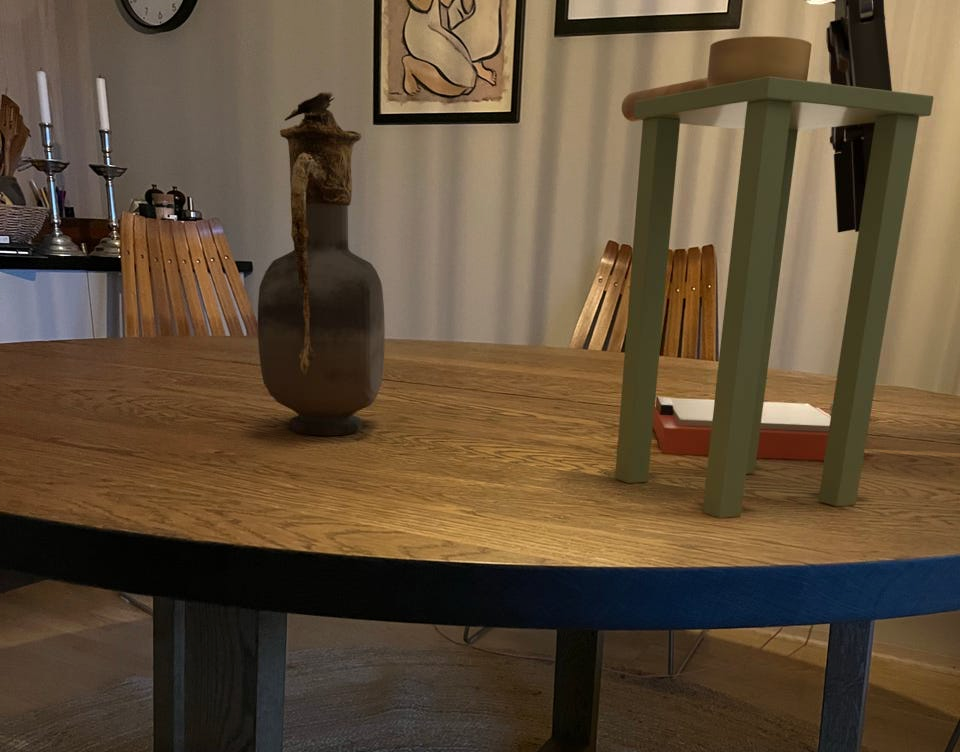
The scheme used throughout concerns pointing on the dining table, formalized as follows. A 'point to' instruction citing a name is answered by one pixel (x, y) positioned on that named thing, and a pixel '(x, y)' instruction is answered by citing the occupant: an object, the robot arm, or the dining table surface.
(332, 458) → the dining table surface
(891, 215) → the shelf stand
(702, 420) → the scale
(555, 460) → the dining table surface
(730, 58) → the scoop
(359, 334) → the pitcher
